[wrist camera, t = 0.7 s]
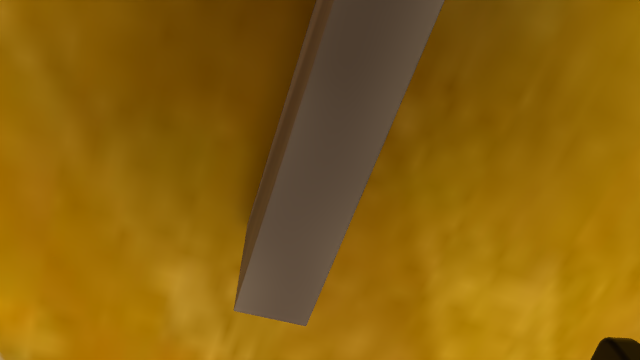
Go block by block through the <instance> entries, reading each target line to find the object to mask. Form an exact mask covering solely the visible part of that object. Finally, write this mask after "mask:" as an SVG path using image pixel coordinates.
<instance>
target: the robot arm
mask: <svg viewBox="0 0 640 360" xmlns="http://www.w3.org/2000/svg"><path fill="white" fill-rule="evenodd" d="M591 360H640V344H639V343H638V342H637V341H635V340H633V339H629V338H613V337H607V338H604V339H603V340H601V341H600V343H599V344H598V346H597V348H596V350H595V352H594V354H593V356H592V358H591Z"/></svg>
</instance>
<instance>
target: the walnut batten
mask: <svg viewBox="0 0 640 360" xmlns="http://www.w3.org/2000/svg"><path fill="white" fill-rule="evenodd" d="M444 1H445V0H316V3H315V6H314V9H313V13H312V16H311V19H310V22H309V26H308V29H307V32H306V35H305V39H304V42H303V45H302V48H301V52H300V55H299V58H298V62H297V65H296V68H295V71H294V75H293V78H292V81H291V84H290V88H289V91H288V94H287V97H286V101H285V104H284V107H283V110H282V114H281V117H280V120H279V123H278V127H277V130H276V133H275V136H274V140H273V143H272V146H271V150H270V153H269V156H268V159H267V163H266V166H265V169H264V172H263V176H262V179H261V182H260V185H259V189H258V192H257V195H256V198H255V202H254V205H253V208H252V211H251V215H250V218H249V221H248V225H247V231H246V237H245V244H244V250H243V256H242V262H241V269H240V275H239V281H238V287H237V294H236V300H235V306H234V311H237V312H242V313H247V314H251V315H256V316H261V317H265V318H270V319H275V320H280V321H284V322H289V323H294V324H298V325H303V326H306V325H307V323H308V320H309V318H310V316H311V313H312V311H313V308H314V306H315V304H316V301H317V299H318V297H319V294H320V292H321V290H322V287H323V285H324V283H325V280H326V278H327V276H328V273H329V271H330V269H331V266H332V264H333V261H334V259H335V257H336V254H337V252H338V250H339V247H340V245H341V243H342V240H343V238H344V236H345V233H346V231H347V229H348V226H349V224H350V222H351V219H352V217H353V214H354V212H355V210H356V207H357V205H358V203H359V200H360V198H361V196H362V193H363V191H364V189H365V186H366V184H367V182H368V179H369V177H370V175H371V172H372V170H373V167H374V165H375V163H376V160H377V158H378V156H379V153H380V151H381V149H382V146H383V144H384V142H385V139H386V137H387V135H388V132H389V130H390V128H391V125H392V123H393V120H394V118H395V116H396V113H397V111H398V109H399V106H400V104H401V102H402V99H403V97H404V95H405V92H406V90H407V88H408V85H409V83H410V81H411V78H412V76H413V73H414V71H415V69H416V66H417V64H418V62H419V59H420V57H421V55H422V52H423V50H424V48H425V45H426V43H427V41H428V38H429V36H430V34H431V31H432V29H433V26H434V24H435V22H436V19H437V17H438V15H439V12H440V10H441V8H442V5H443V3H444Z"/></svg>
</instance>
